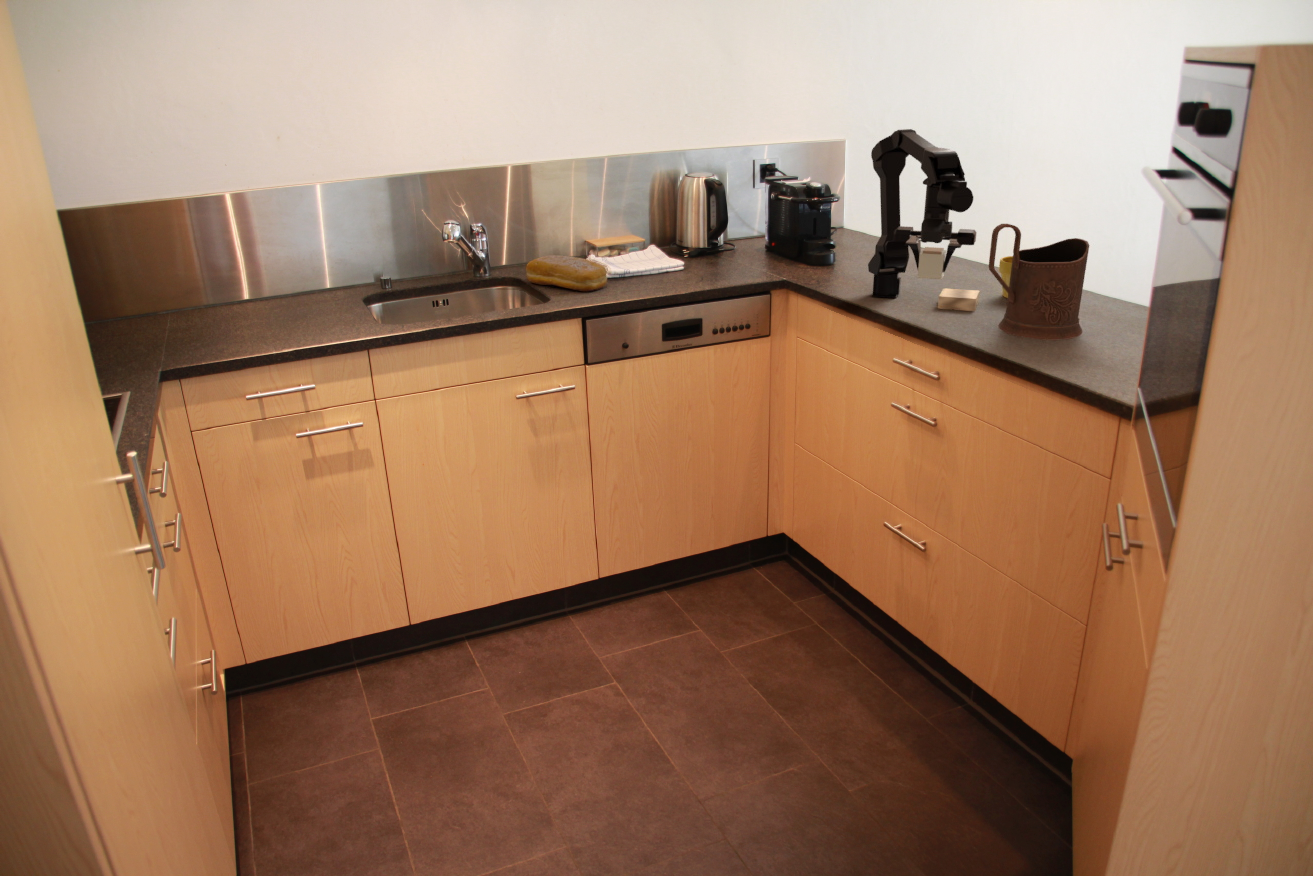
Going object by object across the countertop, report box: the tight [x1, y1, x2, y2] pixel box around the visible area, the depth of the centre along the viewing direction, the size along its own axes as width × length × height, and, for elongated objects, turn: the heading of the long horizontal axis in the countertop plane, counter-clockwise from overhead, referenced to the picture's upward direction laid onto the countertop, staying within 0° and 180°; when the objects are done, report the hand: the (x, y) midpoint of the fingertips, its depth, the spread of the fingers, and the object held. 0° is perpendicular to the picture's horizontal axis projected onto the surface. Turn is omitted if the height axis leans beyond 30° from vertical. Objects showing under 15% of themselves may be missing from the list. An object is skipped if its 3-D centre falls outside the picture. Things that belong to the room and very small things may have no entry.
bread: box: [525, 254, 608, 293], centre depth 269 cm, size 13×26×8 cm, turn 56°
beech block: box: [937, 287, 981, 312], centre depth 238 cm, size 9×9×4 cm
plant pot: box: [998, 255, 1013, 299], centre depth 244 cm, size 10×10×10 cm
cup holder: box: [988, 223, 1090, 341], centre depth 213 cm, size 18×24×25 cm
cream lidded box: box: [917, 246, 947, 281], centre depth 226 cm, size 6×6×7 cm
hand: (931, 271), depth 226 cm, fingers closed on cream lidded box, 6 cm apart
